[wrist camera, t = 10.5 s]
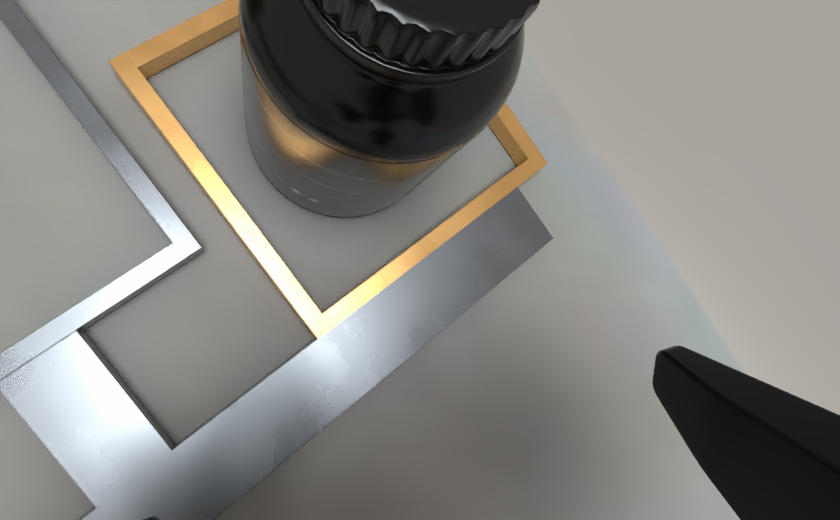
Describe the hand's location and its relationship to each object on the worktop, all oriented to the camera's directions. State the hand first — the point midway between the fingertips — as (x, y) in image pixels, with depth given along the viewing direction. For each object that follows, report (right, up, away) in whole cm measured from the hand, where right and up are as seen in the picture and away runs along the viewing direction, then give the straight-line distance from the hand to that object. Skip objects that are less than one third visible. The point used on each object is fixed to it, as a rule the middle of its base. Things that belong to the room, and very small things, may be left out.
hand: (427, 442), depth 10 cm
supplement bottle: (-3, +8, +11) cm, 14 cm away
